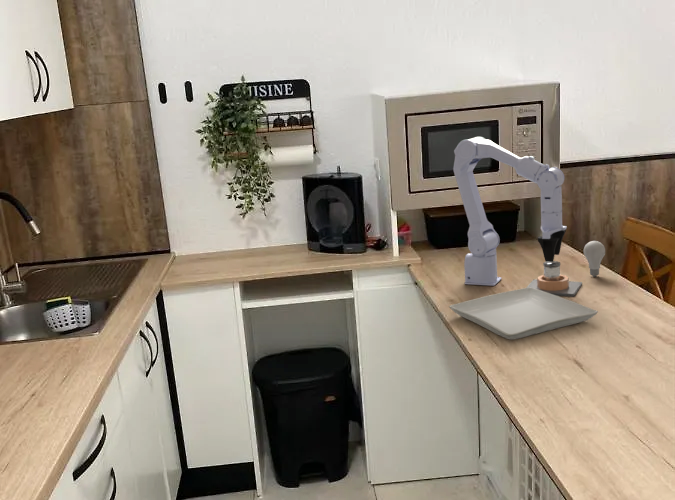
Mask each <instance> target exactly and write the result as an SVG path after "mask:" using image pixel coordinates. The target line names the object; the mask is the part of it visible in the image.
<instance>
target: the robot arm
mask: <svg viewBox="0 0 675 500" xmlns="http://www.w3.org/2000/svg"><path fill="white" fill-rule="evenodd" d="M453 153H454V162H453V168H452V170H453V173H454V177H455V180H456V184H457V187H458V188H457V189H458V191H459V194H460V197H461V200H462V203H463V207H464V211H465V214H466V217H467V221H468V224H469V227H468V230H467V238H468V242H467V246H468V250H469V252H470V253H469V252H468V253H467V254H465V257H464V265H463V266H464V267H463V268H464V285H476V286H491V287H492V286H496V285H497V284H498V283H499V282H500V281H501V280H502V277H500V276H498V262H497V248H498V246H499V245H500V240H501V239H500V236H499V234H498V233H497V231H496V230H495V229H494V225H493V224H492V223H491V222H490V221H489V220H488V218H487V215H486V212H485V209H484V205H483V201H482V197H481V195H480V192H479V187H478V185H477V181H476V178H475V175H474V172H473V171H474V169H475V167H476V166H477V164H478V162H479V161H481V160H482V159H487V158H491V159H492V160H493V159H494V160H495V161H498V162H500V163H502V164H504V165H507V166H509V167H512V168H514V170H515V173H516V174H517V175H518V176H519V177H521V178H524V179H526V180H528V181H530V182H532V183H534V184H537V186H538V187H537V188H539V190H540V218H541V219H540V222H541V223H540V230H541V233H542V234H541V236H540V235H539V236H538V237H537V242H538V243H539V245H540V247H541V249H542V254H543V257H544V262H546V261H548V262H553V261H555V260H554V259H555V256H559V255H560V252H561V247H562V243H563V242H562V241H563V239H564V236H565V234H566V232H567V228H568V227H567V225H563V196H562V195H563V194H562V185H563V184H564V182H565V174H564V172H563V171H562V170H561V169H560V168H559V167H557V166H552V167H550V164H548V163H545V164H544V163H541V162H540V161H538V160H535V156H532V155H529V156H528V155H525V156H523V157H520V156H518V155H516V154H515V153H513V152H511V151H509V150H508V149H505V148H504V147H502V146H501V145H498V144H497V143H495V142H493V141H492V140H491V139H486V138H485V137H483V136H474V137H472V138H469V139H463V140H461V141H460V142H458V144H457V146H456V147H455V148H454V150H453Z"/></svg>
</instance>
